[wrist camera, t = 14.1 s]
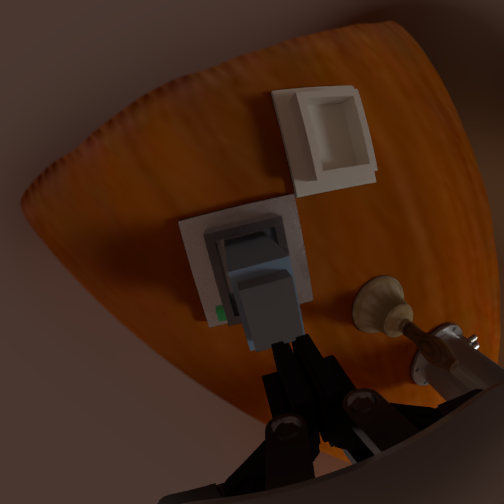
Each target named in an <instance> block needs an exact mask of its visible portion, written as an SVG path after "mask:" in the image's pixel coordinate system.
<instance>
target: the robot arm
mask: <svg viewBox="0 0 504 504" xmlns="http://www.w3.org/2000/svg"><path fill="white" fill-rule="evenodd" d="M431 334H432V335H435V336H437V337H439V338H440V339H442V340H443V341H445V342H446V343H447V344H448V345H449V346H450V348H451V349H452V351H453V353H454V355H455V357H456V358H457V360H458V361H459V365H458V367H457V369H456V370H455V371H453V372H449V371H447V370H444V369H441V368H438V367H435V366H433V365H432V364H430V363H429V362H428V361H427V360H426V359H425V358H424V357H423V355H422V354H421V353H420V351H419V350H418V352H417V353H416V356H415V358H414V360H413V363H412V367H411V377H412V379H413V381H414V382H415V383H416V384H418V385H421V386H424V385H428V384H430V385H431V386H432V387H433V388H434V389H435V390H436V391H437V392H438V393H439V394H440V395H441V396H442V397H443V398H444V399H445V400H446V401H447V402H444V403H442V404H439V405H438V407H437V408H435V409H434V408H431V407H423V406H413V405H404V404H395V403H389V402H388V401H387V400H386V399H384V398H383V397H382V396H381V395H380V394H379V393H378V392H376V391H375V390H372V389H369V388H361V389H356V388H355V386H354V385H353V383H352V382H351V380H350V379H349V377H348V376H347V374H346V373H345V372H344V370H343V369H342V367H341V366H340V364H339V363H338V361H337V360H336V358H335V357H334V356H333V355H331V356H328V357H325V358H323V357H322V355H321V354H320V352H319V351H318V349H317V347H316V346H315V344H314V343H313V341H312V339H311V338H310V336H309V335H308V334H305V335H301V336H298V337H296V341H292V345H293V351H294V353H293V351H292V349H291V347H290V345H289V343H285V344H284V342H283V341H281V342H277V343H273V344H271V347H272V351H273V355H274V359H275V364H276V368H277V372H275V373H271V374H268V375H264V376H262V378H263V382H264V386H265V390H266V394H267V398H268V402H269V406H270V410H271V413H272V417H273V418H272V419H271V420H270V421H269V422H268V424H267V425H266V429H265V440H264V441H263V442H262V444H261V445H260V446H259V447H258V448H257V449H256V450H255V451H254V452H253V453H252V454H251V455H250V456H249V457H248V459H247V460H246V461H245V462H244V463H243V464H242V465H241V466H240V467H239V468H238V469H237V470H236V471H235V472H234V473H233V474H232V475H231V476H230V477H229V478H228V479H227V480H226V481H225V483H222V484H219V485H216V484H215V483H214V484H210V485H207V486H203V487H200V488H196V489H192V490H188V491H183V492H179V493H174V494H170V495H167V496H164V497H163V498H161V499H160V500H159V502H158V504H504V369H503V368H502V367H500V366H499V365H497V364H496V363H495V362H493V361H492V360H491V359H489V358H488V357H486V356H485V355H484V354H482V353H481V352H480V351H478V350H477V349H478V348H479V344H478V342H477V341H476V340H477V336H476V335H475V334H473V335H472V336H470V337H469V338H468V339H467V338H466V337H464V336H463V334H462V330H461V328H460V327H459V326H458V325H456V324H454V323H447V324H444V325H442V326H440V327H439V328H437V329H436V330H435V331H434V332H432V333H431ZM319 432H320V435H321V437H322V439H323V441H324V442H327V441H329V444H330V446H331V447H333V446H335V447H337V448H341V449H343V451H344V453H345V455H346V456H347V457H348V459H349V460H350V461H351V463H352V464H353V465H351V466H348V467H346V468H343V469H340V470H337V471H334V472H332V473H329V474H326V475H323V476H320V477H317V478H315V473H314V466H313V461H314V460H315V458H316V457H317V456H318V454H319V453H320V451H319V444H320V435H319Z"/></svg>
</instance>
